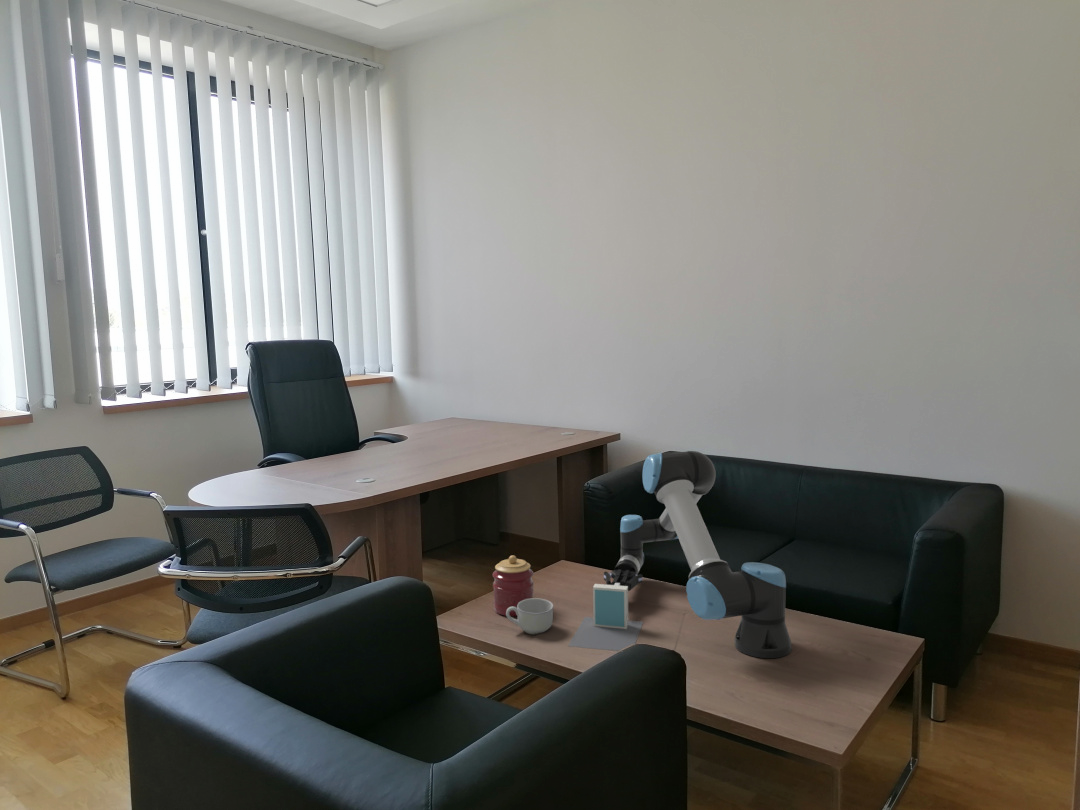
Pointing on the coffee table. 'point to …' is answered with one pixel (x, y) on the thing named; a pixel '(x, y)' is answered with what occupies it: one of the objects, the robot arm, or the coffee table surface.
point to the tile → (610, 606)
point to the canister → (511, 584)
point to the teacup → (533, 615)
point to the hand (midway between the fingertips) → (613, 594)
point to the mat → (605, 636)
